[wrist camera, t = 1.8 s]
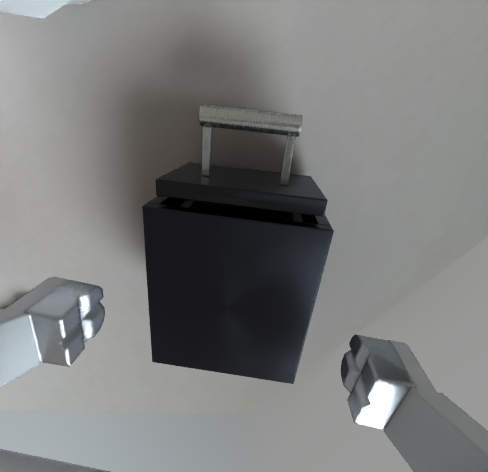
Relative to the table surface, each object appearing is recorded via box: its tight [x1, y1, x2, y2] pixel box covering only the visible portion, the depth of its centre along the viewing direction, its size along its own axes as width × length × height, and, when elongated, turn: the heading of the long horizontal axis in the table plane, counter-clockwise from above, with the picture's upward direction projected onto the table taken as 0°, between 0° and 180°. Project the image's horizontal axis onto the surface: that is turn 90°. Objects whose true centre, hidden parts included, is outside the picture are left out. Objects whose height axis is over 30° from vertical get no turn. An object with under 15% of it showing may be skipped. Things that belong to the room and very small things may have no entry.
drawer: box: [156, 104, 327, 222], centre depth 23 cm, size 18×12×8 cm, turn 174°
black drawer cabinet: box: [142, 196, 334, 384], centre depth 25 cm, size 15×13×10 cm
